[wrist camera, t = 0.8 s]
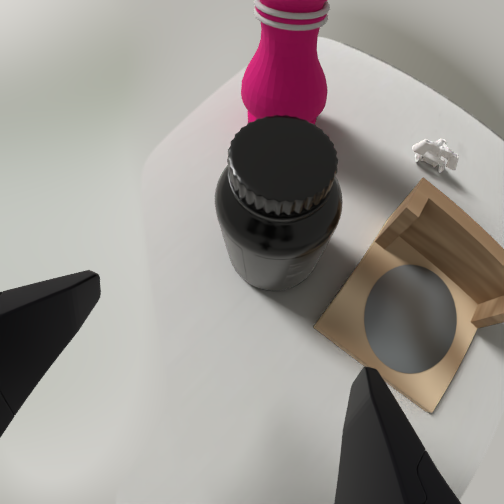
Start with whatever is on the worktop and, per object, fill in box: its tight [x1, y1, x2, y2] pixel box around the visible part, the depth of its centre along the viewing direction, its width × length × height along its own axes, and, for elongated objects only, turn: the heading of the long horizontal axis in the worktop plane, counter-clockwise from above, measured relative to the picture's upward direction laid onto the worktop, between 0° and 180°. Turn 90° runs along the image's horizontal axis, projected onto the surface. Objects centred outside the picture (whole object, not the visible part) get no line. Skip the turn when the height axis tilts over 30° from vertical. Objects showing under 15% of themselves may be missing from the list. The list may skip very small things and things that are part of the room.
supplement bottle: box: [215, 115, 342, 291], centre depth 19 cm, size 7×7×12 cm
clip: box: [412, 139, 459, 173], centre depth 25 cm, size 5×2×4 cm, turn 70°
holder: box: [313, 178, 504, 413], centre depth 19 cm, size 11×12×7 cm
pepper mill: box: [241, 0, 330, 124], centre depth 19 cm, size 7×7×20 cm
